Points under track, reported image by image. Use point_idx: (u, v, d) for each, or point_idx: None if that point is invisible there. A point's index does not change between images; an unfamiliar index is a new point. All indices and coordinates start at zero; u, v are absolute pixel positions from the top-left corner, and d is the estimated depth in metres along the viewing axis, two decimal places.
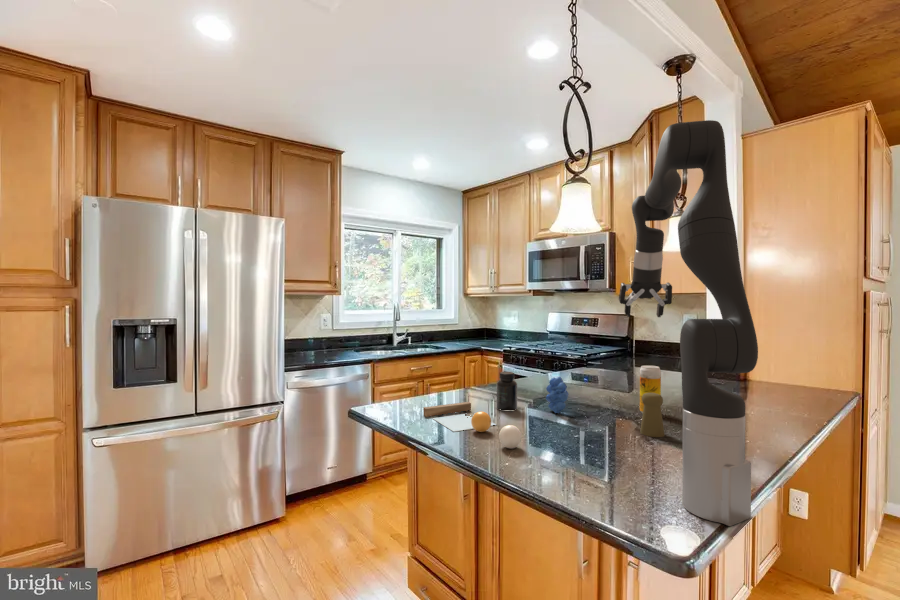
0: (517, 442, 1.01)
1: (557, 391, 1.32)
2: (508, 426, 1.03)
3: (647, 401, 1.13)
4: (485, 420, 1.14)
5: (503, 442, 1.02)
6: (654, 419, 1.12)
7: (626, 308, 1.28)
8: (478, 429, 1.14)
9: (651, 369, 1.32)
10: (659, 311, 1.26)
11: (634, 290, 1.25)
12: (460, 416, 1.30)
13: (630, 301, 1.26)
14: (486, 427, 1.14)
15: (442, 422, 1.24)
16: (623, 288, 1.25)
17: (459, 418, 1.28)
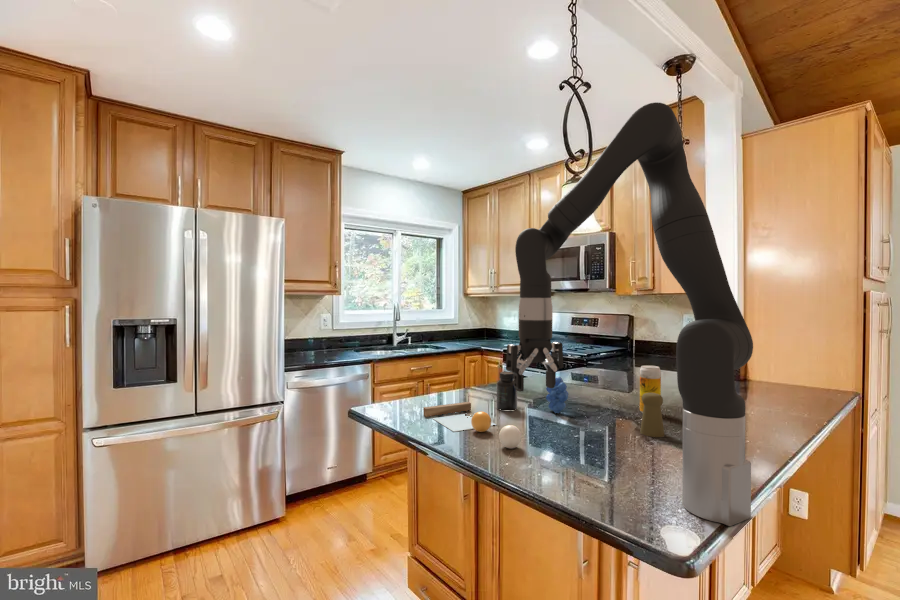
0: (517, 442, 1.01)
1: (557, 391, 1.32)
2: (508, 426, 1.03)
3: (647, 401, 1.13)
4: (485, 420, 1.14)
5: (503, 442, 1.02)
6: (654, 419, 1.12)
7: (518, 379, 0.93)
8: (478, 429, 1.14)
9: (651, 369, 1.32)
10: (552, 379, 0.96)
11: (526, 352, 0.93)
12: (460, 416, 1.30)
13: (523, 368, 0.93)
14: (486, 427, 1.14)
15: (442, 422, 1.24)
16: (515, 349, 0.92)
17: (459, 418, 1.28)
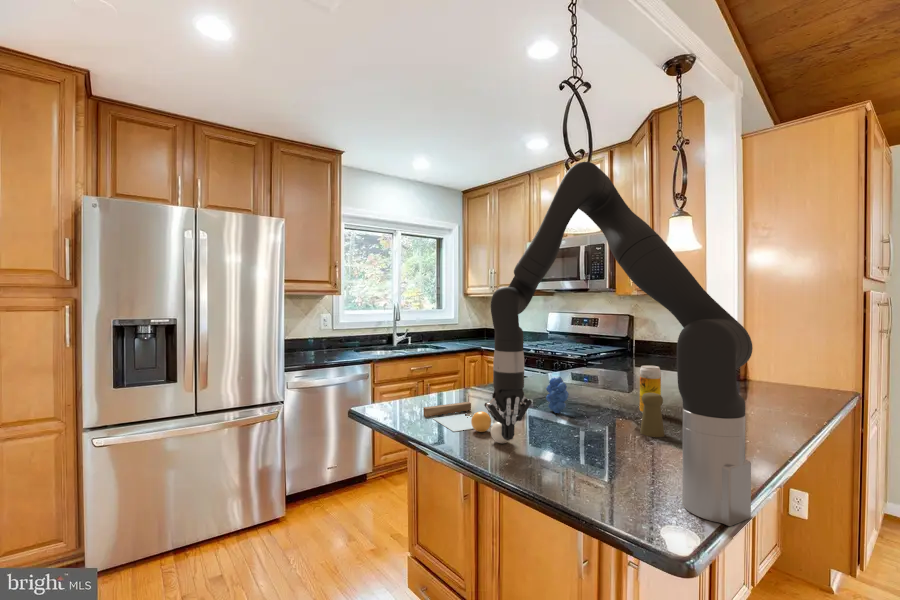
0: None
1: (557, 391, 1.32)
2: None
3: (647, 401, 1.13)
4: (485, 420, 1.14)
5: (495, 433, 1.05)
6: (654, 419, 1.12)
7: (505, 429, 1.02)
8: (478, 429, 1.14)
9: (651, 369, 1.32)
10: (511, 431, 1.03)
11: (502, 406, 1.01)
12: (460, 416, 1.30)
13: (507, 418, 1.02)
14: (486, 427, 1.14)
15: (442, 422, 1.24)
16: (492, 408, 1.00)
17: (459, 418, 1.28)
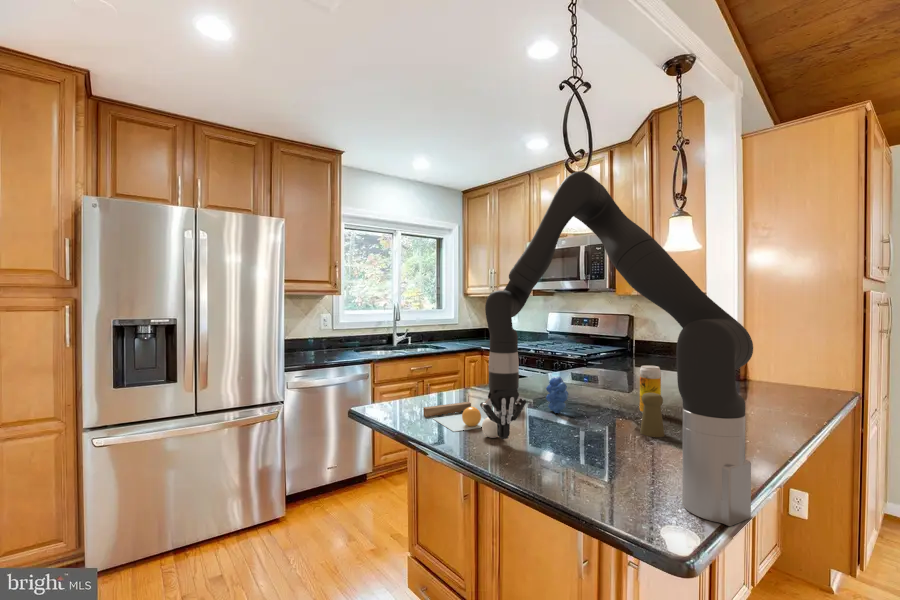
0: None
1: (557, 391, 1.32)
2: None
3: (647, 401, 1.13)
4: None
5: (483, 423, 1.11)
6: (654, 419, 1.12)
7: (501, 428, 1.05)
8: (467, 411, 1.19)
9: (651, 369, 1.32)
10: (506, 431, 1.05)
11: (497, 406, 1.04)
12: (460, 416, 1.30)
13: (502, 418, 1.05)
14: (471, 407, 1.21)
15: (442, 422, 1.24)
16: (487, 408, 1.03)
17: (459, 418, 1.28)
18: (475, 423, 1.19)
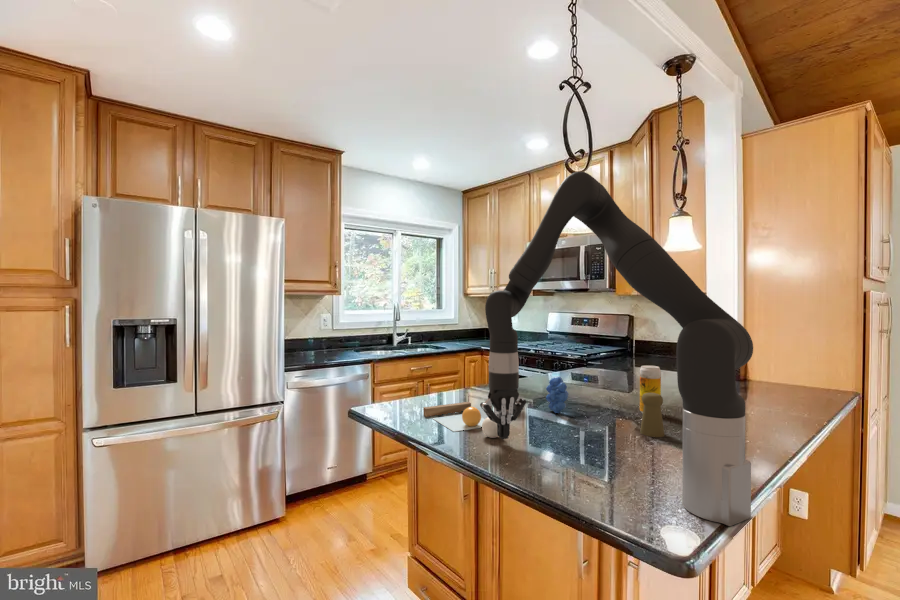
0: None
1: (557, 391, 1.32)
2: None
3: (647, 401, 1.13)
4: None
5: (483, 423, 1.11)
6: (654, 419, 1.12)
7: (501, 428, 1.05)
8: (467, 411, 1.19)
9: (651, 369, 1.32)
10: (506, 431, 1.05)
11: (497, 406, 1.04)
12: (460, 416, 1.30)
13: (502, 418, 1.05)
14: (471, 407, 1.21)
15: (442, 422, 1.24)
16: (487, 408, 1.03)
17: (459, 418, 1.28)
18: (475, 423, 1.19)
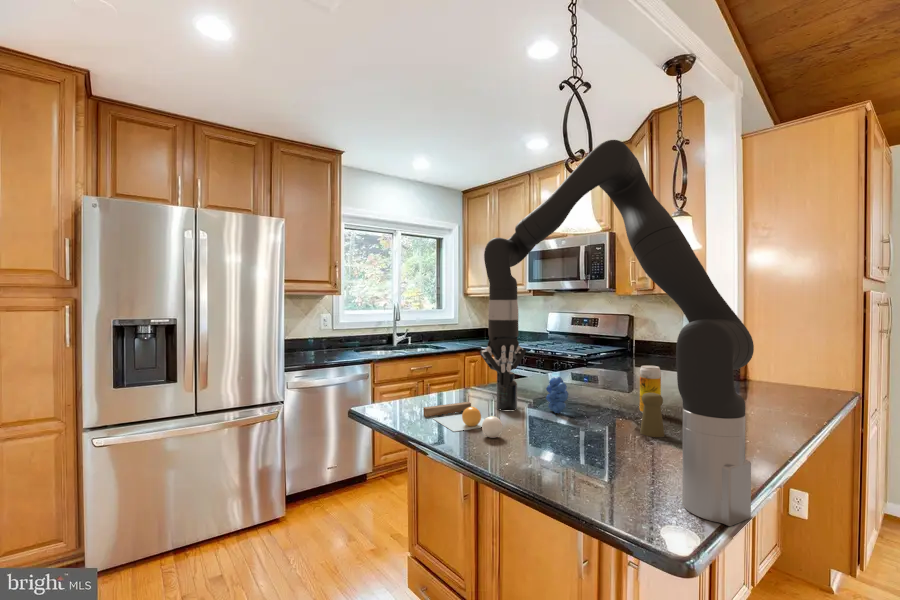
0: None
1: (557, 391, 1.32)
2: None
3: (647, 401, 1.13)
4: None
5: (483, 423, 1.11)
6: (654, 419, 1.12)
7: (501, 376, 1.05)
8: (467, 411, 1.19)
9: (651, 369, 1.32)
10: (506, 379, 1.05)
11: (497, 353, 1.04)
12: (460, 416, 1.30)
13: (502, 366, 1.05)
14: (471, 407, 1.21)
15: (442, 422, 1.24)
16: (487, 355, 1.03)
17: (459, 418, 1.28)
18: (475, 423, 1.19)
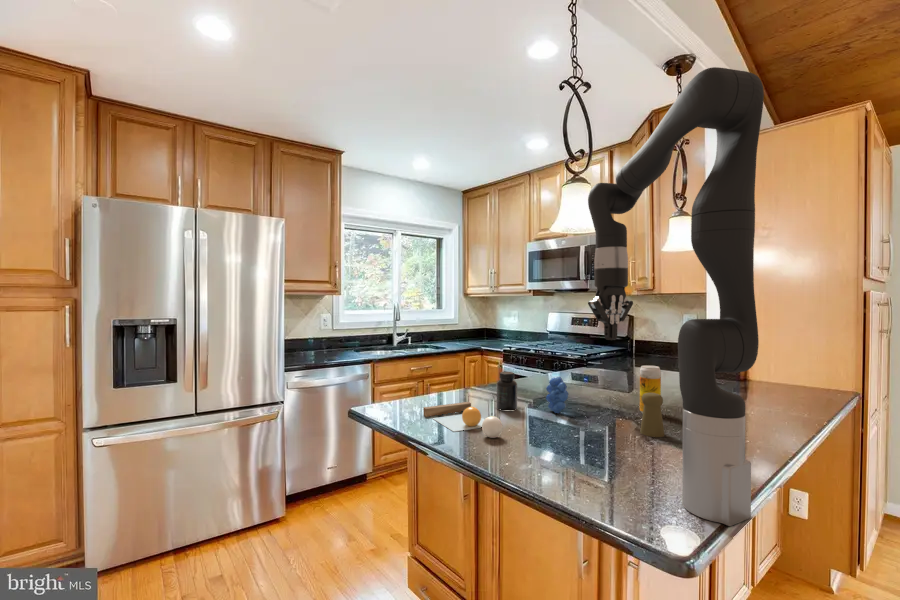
0: None
1: (557, 391, 1.32)
2: None
3: (647, 401, 1.13)
4: None
5: (483, 423, 1.11)
6: (654, 419, 1.12)
7: (609, 328, 1.00)
8: (467, 411, 1.19)
9: (651, 369, 1.32)
10: (614, 331, 1.00)
11: (606, 303, 0.99)
12: (460, 416, 1.30)
13: (611, 317, 0.99)
14: (471, 407, 1.21)
15: (442, 422, 1.24)
16: (598, 304, 0.97)
17: (459, 418, 1.28)
18: (475, 423, 1.19)
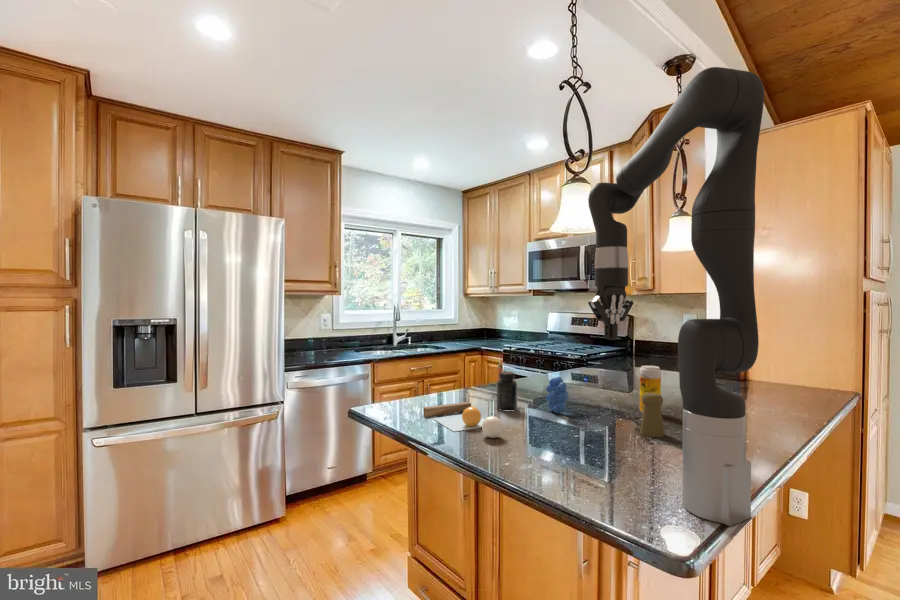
0: None
1: (557, 391, 1.32)
2: None
3: (647, 401, 1.13)
4: None
5: (483, 423, 1.11)
6: (654, 419, 1.12)
7: (609, 328, 1.00)
8: (467, 411, 1.19)
9: (651, 369, 1.32)
10: (615, 331, 1.00)
11: (606, 303, 0.99)
12: (460, 416, 1.30)
13: (612, 317, 0.99)
14: (471, 407, 1.21)
15: (442, 422, 1.24)
16: (598, 304, 0.97)
17: (459, 418, 1.28)
18: (475, 423, 1.19)
